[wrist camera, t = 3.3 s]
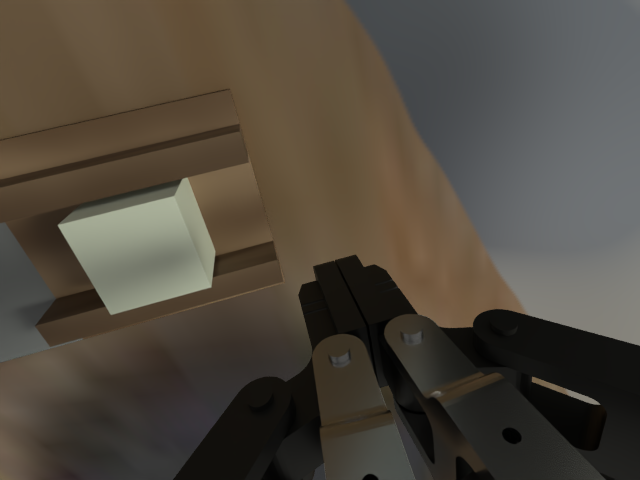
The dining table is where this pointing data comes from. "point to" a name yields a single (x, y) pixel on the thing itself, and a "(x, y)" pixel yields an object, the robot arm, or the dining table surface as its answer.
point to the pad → (20, 301)
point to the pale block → (142, 245)
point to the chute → (128, 175)
